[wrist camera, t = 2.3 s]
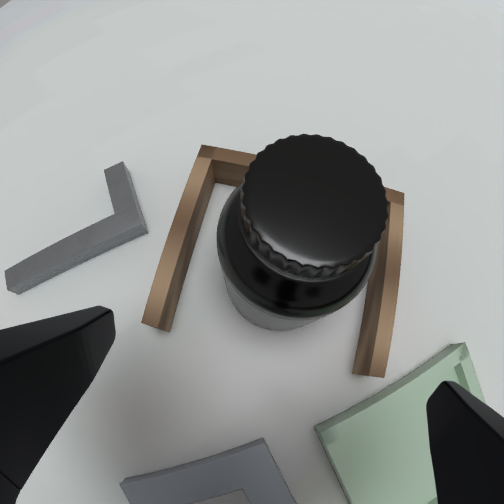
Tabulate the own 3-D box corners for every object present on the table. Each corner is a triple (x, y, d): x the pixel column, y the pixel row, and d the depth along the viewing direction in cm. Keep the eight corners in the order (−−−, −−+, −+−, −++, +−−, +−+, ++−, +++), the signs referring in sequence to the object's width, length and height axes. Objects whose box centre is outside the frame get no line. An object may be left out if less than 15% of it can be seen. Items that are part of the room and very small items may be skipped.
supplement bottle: (205, 270, 21) (163, 172, 10) (285, 212, 23) (319, 84, 11) (271, 355, 20) (306, 354, 8) (350, 288, 21) (450, 214, 10)
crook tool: (19, 294, 20) (7, 290, 19) (10, 233, 22) (0, 227, 20) (148, 232, 22) (142, 224, 20) (129, 172, 23) (122, 161, 22)
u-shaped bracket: (365, 375, 19) (384, 377, 16) (155, 327, 20) (141, 322, 17) (387, 211, 23) (404, 193, 20) (206, 168, 24) (201, 144, 21)
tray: (367, 541, 15) (375, 552, 13) (314, 426, 18) (320, 432, 16) (486, 459, 16) (499, 463, 15) (451, 344, 20) (465, 342, 18)
